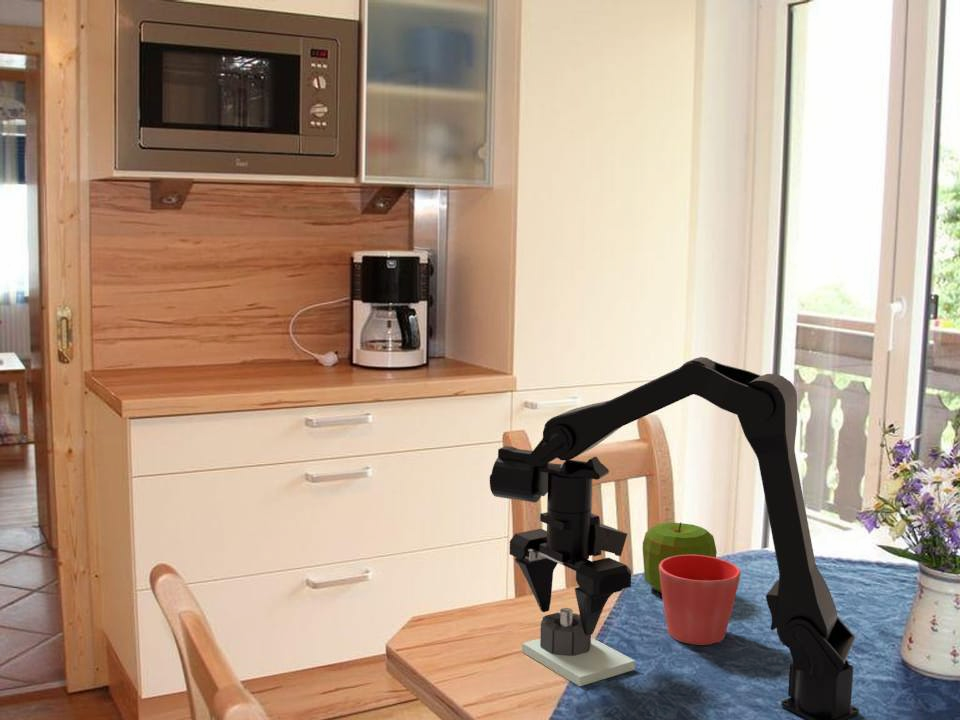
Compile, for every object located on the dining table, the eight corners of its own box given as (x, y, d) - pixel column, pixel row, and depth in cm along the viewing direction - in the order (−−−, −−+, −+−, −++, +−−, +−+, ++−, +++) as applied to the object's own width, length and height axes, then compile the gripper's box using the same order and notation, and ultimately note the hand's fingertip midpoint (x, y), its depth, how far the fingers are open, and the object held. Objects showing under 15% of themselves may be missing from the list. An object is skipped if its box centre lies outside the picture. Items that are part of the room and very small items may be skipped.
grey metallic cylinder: (573, 654, 139) (575, 610, 139) (564, 657, 139) (565, 613, 138) (566, 650, 141) (567, 607, 140) (556, 652, 140) (558, 609, 139)
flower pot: (738, 653, 141) (742, 583, 139) (654, 645, 143) (657, 576, 141) (735, 623, 151) (739, 557, 149) (657, 616, 153) (660, 551, 152)
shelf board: (634, 669, 135) (635, 660, 135) (579, 686, 130) (579, 677, 130) (575, 637, 145) (575, 628, 145) (522, 651, 140) (522, 643, 140)
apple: (723, 586, 166) (726, 518, 164) (700, 608, 156) (703, 536, 155) (656, 572, 171) (658, 507, 170) (630, 593, 162) (632, 524, 160)
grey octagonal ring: (600, 648, 139) (600, 625, 138) (561, 659, 135) (562, 635, 135) (569, 631, 144) (570, 609, 143) (531, 642, 140) (532, 618, 140)
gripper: (665, 515, 134) (661, 633, 136) (572, 482, 149) (570, 589, 151) (597, 529, 127) (594, 653, 130) (508, 494, 143) (506, 604, 145)
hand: (566, 622), depth 139 cm, fingers open, 9 cm apart
